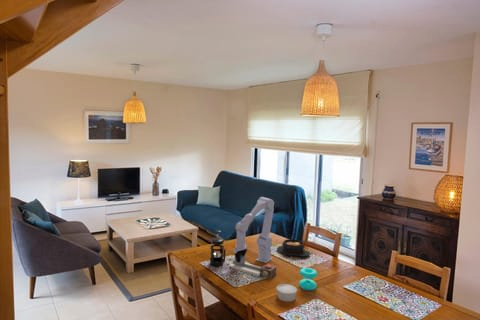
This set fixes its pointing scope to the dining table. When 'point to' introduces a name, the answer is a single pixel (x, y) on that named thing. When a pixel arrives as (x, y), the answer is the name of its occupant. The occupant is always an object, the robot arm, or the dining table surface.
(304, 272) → the donuts
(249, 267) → the rail
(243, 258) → the carriage
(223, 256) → the french press
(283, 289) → the ramekin
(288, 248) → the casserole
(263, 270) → the cabinet
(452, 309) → the dining table surface
